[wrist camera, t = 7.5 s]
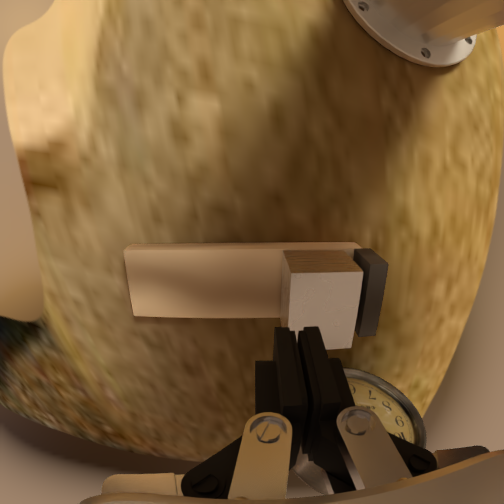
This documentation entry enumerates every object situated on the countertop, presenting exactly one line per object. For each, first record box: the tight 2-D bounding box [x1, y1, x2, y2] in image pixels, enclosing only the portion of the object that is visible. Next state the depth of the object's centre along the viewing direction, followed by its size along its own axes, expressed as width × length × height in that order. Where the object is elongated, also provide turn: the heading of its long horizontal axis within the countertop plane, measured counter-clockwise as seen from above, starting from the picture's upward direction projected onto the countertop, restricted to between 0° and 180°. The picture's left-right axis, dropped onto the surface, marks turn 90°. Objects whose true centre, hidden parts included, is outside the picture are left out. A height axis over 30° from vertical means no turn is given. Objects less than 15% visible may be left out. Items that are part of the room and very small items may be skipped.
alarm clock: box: [291, 368, 426, 495], centre depth 18 cm, size 11×5×16 cm, turn 73°
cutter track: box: [124, 242, 388, 337], centre depth 20 cm, size 5×17×4 cm, turn 90°
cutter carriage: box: [280, 250, 363, 350], centre depth 19 cm, size 5×5×4 cm
